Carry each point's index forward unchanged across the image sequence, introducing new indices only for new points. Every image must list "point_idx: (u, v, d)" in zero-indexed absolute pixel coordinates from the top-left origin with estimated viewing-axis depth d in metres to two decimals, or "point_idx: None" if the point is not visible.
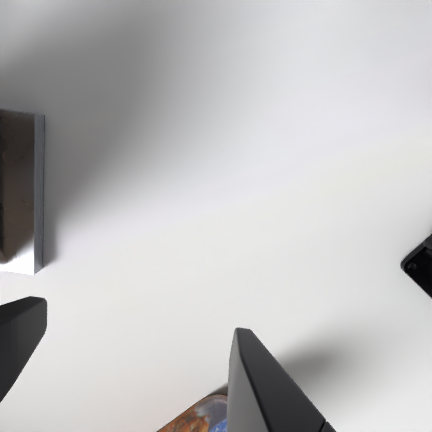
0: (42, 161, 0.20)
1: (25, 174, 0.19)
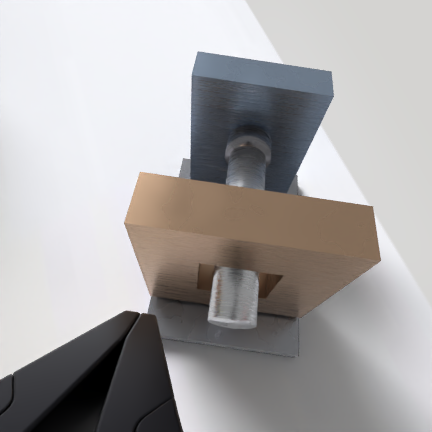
0: (253, 350, 0.21)
1: (244, 338, 0.20)
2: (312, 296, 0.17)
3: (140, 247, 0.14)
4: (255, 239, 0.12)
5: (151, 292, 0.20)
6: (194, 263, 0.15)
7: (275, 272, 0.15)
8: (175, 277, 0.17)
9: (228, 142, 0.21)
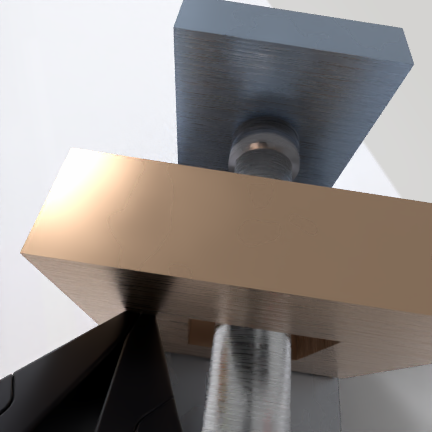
0: None
1: None
2: (376, 364, 0.10)
3: (76, 293, 0.07)
4: (307, 290, 0.06)
5: None
6: (180, 318, 0.08)
7: (328, 337, 0.08)
8: None
9: (233, 142, 0.13)
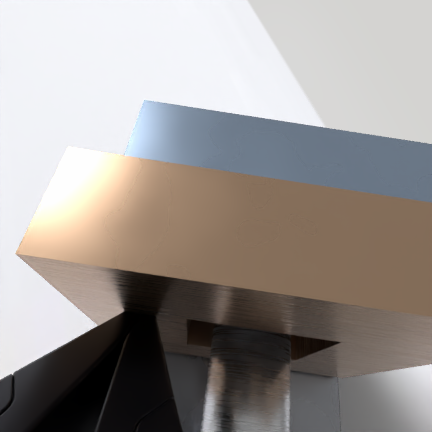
0: None
1: None
2: (376, 364, 0.10)
3: (73, 293, 0.07)
4: (306, 291, 0.06)
5: None
6: (179, 319, 0.08)
7: (328, 338, 0.08)
8: None
9: None
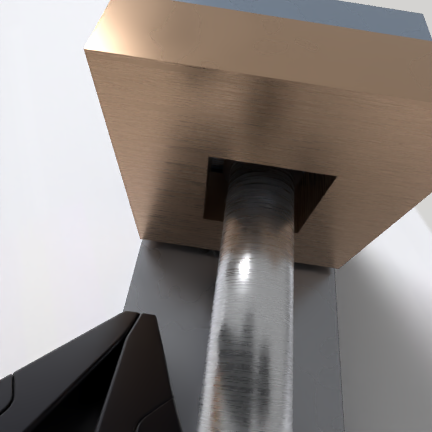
0: None
1: None
2: (367, 224, 0.12)
3: (117, 123, 0.09)
4: (309, 80, 0.07)
5: (141, 231, 0.15)
6: (202, 157, 0.10)
7: (326, 169, 0.10)
8: (173, 196, 0.12)
9: None
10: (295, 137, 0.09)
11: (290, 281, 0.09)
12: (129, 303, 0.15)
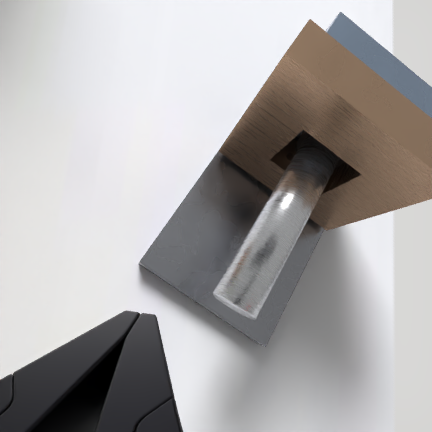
0: (227, 322, 0.22)
1: (226, 310, 0.21)
2: (360, 209, 0.19)
3: (269, 88, 0.15)
4: (378, 124, 0.14)
5: (223, 147, 0.22)
6: (299, 128, 0.17)
7: (358, 168, 0.17)
8: (264, 138, 0.19)
9: None
10: (354, 144, 0.16)
11: (309, 214, 0.17)
12: (196, 187, 0.22)
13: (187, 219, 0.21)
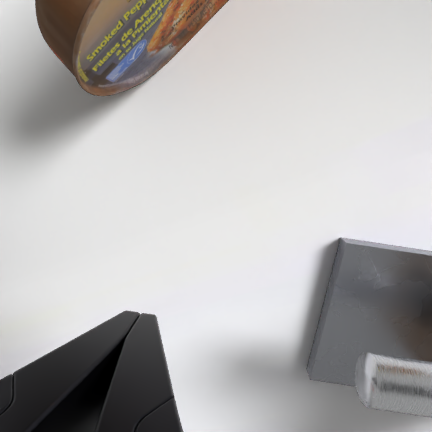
0: (316, 335, 0.22)
1: (329, 336, 0.21)
2: None
3: None
4: None
5: None
6: None
7: None
8: None
9: None
10: None
11: None
12: None
13: (408, 268, 0.20)
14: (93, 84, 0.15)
